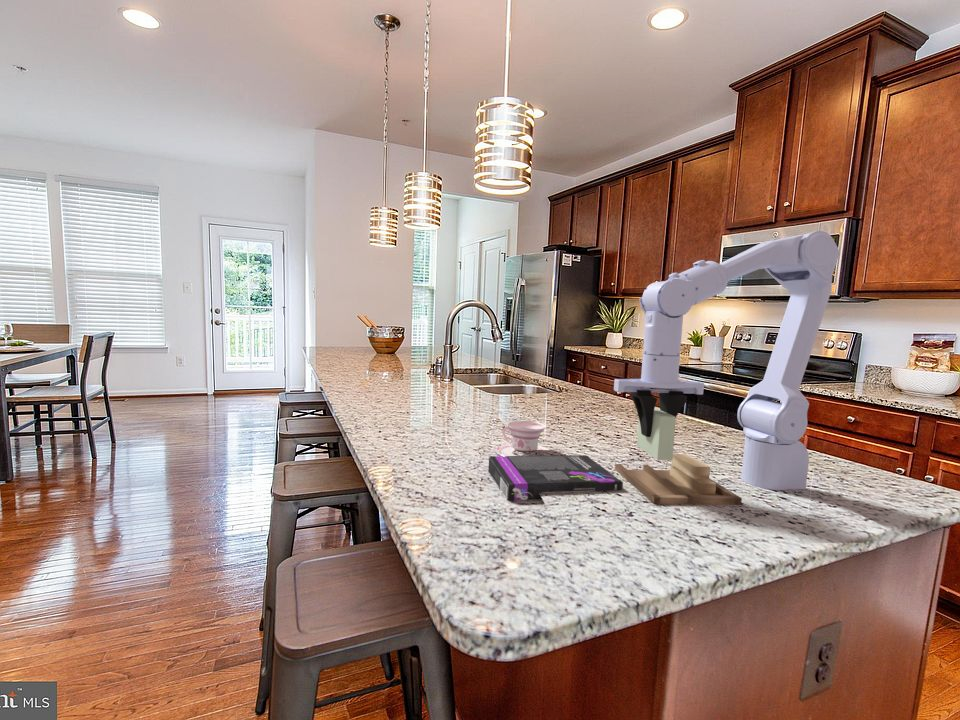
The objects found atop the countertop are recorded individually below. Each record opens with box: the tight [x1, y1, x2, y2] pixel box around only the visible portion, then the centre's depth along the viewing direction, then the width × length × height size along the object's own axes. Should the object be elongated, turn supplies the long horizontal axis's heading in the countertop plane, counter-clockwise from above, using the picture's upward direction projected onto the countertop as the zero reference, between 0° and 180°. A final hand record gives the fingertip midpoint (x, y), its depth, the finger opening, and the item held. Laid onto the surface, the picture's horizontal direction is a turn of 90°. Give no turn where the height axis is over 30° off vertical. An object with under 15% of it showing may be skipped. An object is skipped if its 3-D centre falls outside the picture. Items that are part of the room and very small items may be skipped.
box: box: [487, 454, 624, 501], centre depth 82 cm, size 14×4×20 cm
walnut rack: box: [614, 463, 743, 506], centre depth 81 cm, size 14×16×2 cm
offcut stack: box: [669, 453, 717, 496], centre depth 81 cm, size 3×10×4 cm, turn 5°
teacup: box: [495, 420, 550, 456], centre depth 99 cm, size 12×12×6 cm
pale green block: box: [636, 407, 677, 461], centre depth 79 cm, size 2×8×7 cm, turn 5°
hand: (654, 435), depth 79 cm, fingers closed on pale green block, 2 cm apart
